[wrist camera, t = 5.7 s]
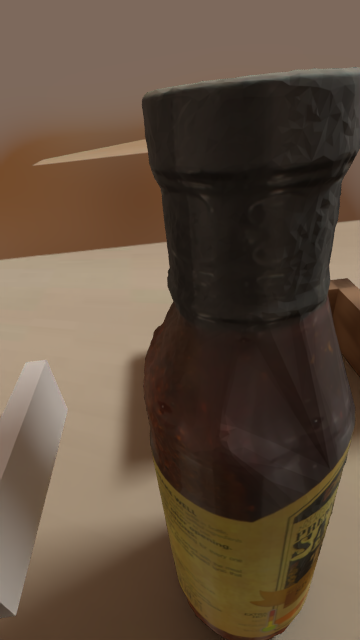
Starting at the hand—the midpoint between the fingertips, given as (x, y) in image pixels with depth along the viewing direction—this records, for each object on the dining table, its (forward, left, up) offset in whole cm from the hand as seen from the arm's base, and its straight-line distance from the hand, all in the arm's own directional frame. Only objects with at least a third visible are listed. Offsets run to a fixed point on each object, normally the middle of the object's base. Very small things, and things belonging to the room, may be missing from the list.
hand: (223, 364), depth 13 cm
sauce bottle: (+1, +2, -11) cm, 11 cm away
